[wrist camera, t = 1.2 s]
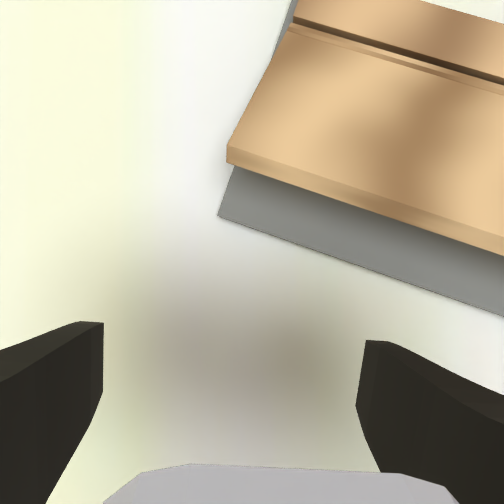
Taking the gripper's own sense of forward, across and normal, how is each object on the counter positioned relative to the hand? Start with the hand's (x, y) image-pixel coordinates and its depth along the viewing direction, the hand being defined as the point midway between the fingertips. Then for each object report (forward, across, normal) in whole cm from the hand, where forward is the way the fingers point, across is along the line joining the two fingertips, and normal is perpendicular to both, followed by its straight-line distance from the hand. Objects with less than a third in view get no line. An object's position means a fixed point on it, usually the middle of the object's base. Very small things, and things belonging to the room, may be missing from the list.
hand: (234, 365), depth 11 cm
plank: (+7, -8, -6) cm, 12 cm away
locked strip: (+10, -9, -11) cm, 18 cm away
